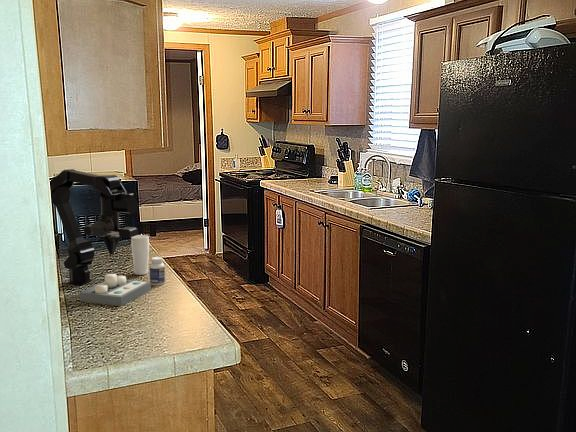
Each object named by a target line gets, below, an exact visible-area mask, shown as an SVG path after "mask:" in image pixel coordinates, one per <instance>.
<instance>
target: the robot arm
mask: <svg viewBox="0 0 576 432" xmlns="http://www.w3.org/2000/svg"><path fill="white" fill-rule="evenodd" d="M50 180H51V192H52V202H51V203H52V204H53V205H54V207H55V208H56V210H57V214H58V216H59V219H60V221H61V224H62V227H63V229H64V232H65V236H66V237H67V239H68V242H69V243H68V248H67V253H68V257H66V259H65V260H64V261H63V266H64V268H65V269H68V278H69V281H66V284H68V285H75V286H77V285H78V286H83V285H85V284H87V283H90V282H92V281H93V279H92V278H91V276H90V275H91V274H90V269H89V265H90V266H91V265H92V264H93V260H94V257H95V248H94V246H93V242H92V241H91V240H90V239H88V240H87V239H85V238H84V237H83V235H90V236H91V235H92V236H97V238H99V239H101V240H102V241H103V242H104V244H105V245H106V249H107V251H108V253H109V255H110V256H112V255H114V254H115V252H116V249H117V247H118V244H119V242H120V240H121V239H122V238H125V239H129V238H130V239H131V237H133V236H136V235H139V230H138V228H137V227H135V226H125V227H122V224H120V220H119V219H120V217H121V216H122V214H121V213H124V214H135V213H136V212H137V210H138V208H139V202H138V200H137V198H136V197H134V196H135V195H134V193H128V192H127V190H126V188H125V187H124V185H123V184H122V182H121V180H120V178H119V176H117V175H115V174H103V175H102V174H100V175H98V174H93V173H89V172H86V171H80V170H75V169H74V168H71V169H64V170H61V172H59V174H57V175H55V176H53V178H51V179H50ZM75 183H76V184H80V185H85V186H88V187H89V186H90V187H93V189H94V190H95V191H98V192H99V193H98V194H96V196H95V198H96V199H100V207H101V208H100V210H101V214H98V220H97V221H95V222H94V223H92V224H89V225H85V226H84V228H83V234H82V231H81V229H80V226H79V224H78V221H77V218H76V216H75V214H74V213H75V212H74V211H73V208H72V205H71V201H70V200H71V195H72V193H71V188H72V187H73V186H74V184H75Z"/></svg>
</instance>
